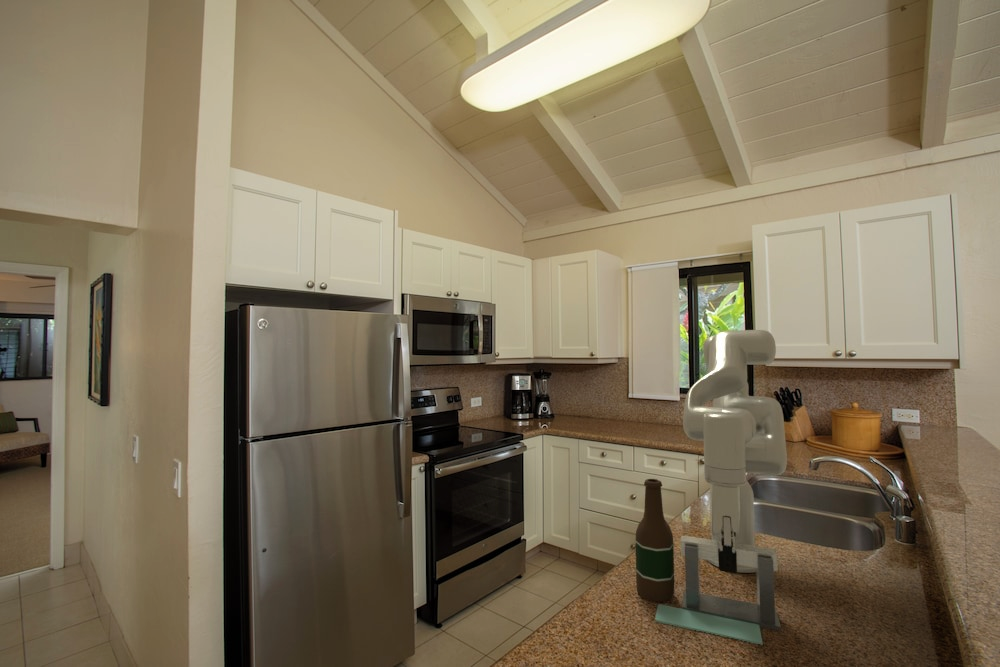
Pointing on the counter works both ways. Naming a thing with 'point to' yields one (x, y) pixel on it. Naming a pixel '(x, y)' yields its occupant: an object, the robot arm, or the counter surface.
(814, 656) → the counter surface
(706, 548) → the rail
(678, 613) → the mat
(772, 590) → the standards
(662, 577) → the beer bottle
